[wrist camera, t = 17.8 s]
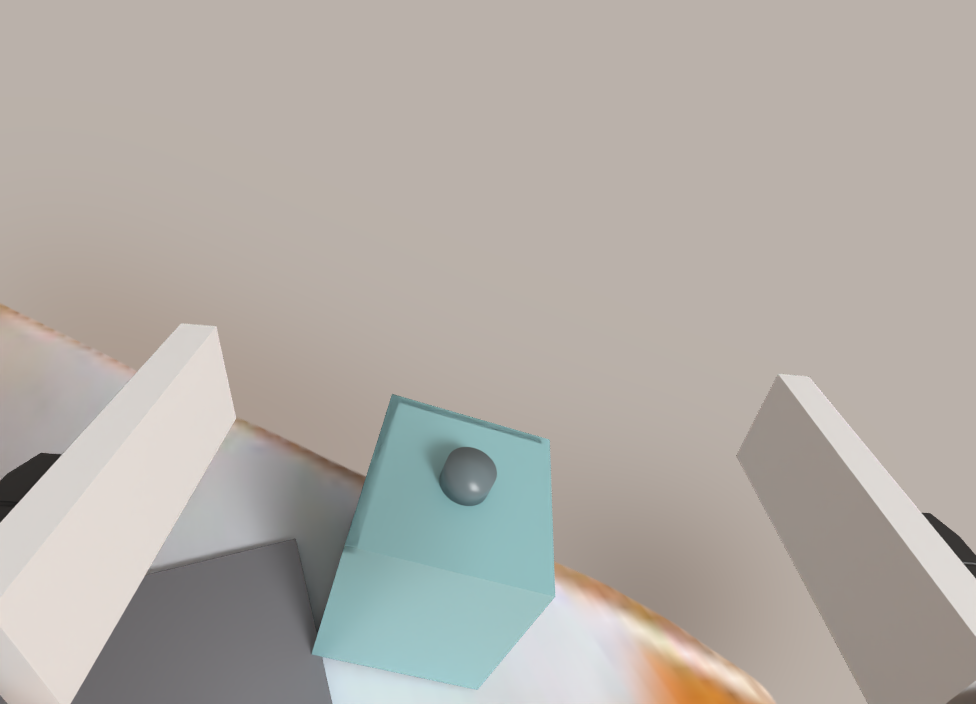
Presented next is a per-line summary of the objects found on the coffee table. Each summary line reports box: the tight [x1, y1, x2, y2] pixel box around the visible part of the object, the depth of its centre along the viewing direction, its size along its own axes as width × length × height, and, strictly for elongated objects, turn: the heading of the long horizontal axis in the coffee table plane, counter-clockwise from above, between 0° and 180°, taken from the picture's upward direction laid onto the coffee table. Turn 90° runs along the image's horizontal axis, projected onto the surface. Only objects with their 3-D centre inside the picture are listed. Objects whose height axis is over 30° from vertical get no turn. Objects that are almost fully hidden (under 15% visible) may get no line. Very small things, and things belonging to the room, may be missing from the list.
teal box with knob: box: [312, 394, 555, 690], centre depth 34 cm, size 11×11×14 cm
